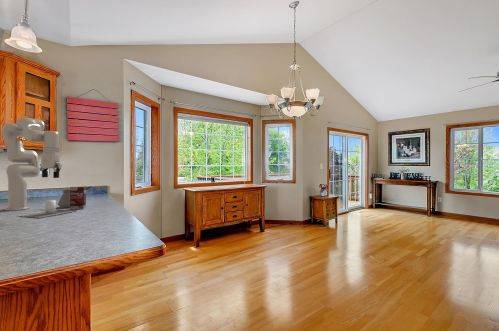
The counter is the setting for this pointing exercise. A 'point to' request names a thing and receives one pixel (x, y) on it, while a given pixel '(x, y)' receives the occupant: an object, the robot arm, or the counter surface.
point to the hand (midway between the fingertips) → (50, 177)
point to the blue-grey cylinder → (51, 207)
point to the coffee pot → (66, 199)
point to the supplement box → (77, 198)
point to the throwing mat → (43, 214)
